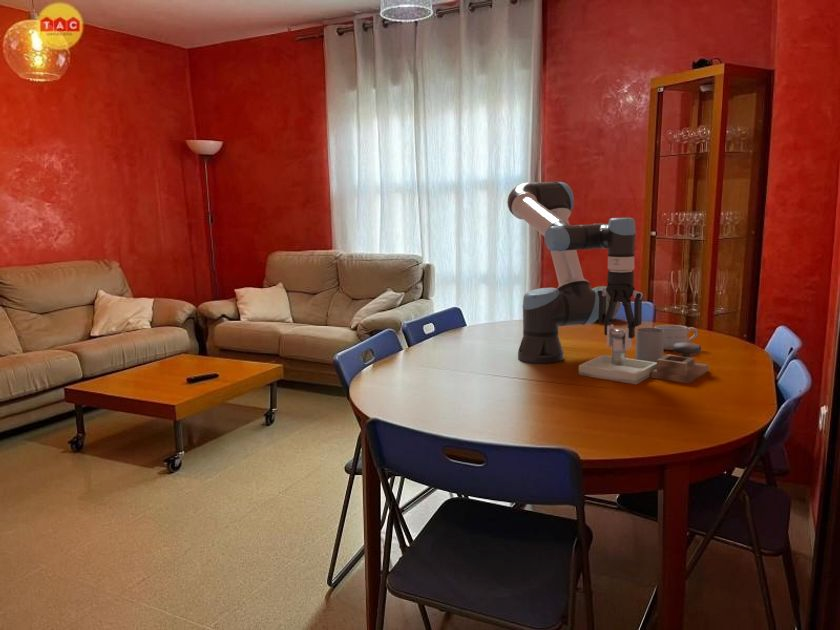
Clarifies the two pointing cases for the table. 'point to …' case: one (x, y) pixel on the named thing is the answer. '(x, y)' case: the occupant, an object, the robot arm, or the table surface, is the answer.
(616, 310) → the decorative sphere
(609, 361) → the tray
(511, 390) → the table surface
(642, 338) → the cup
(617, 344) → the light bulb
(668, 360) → the block
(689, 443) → the table surface
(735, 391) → the table surface
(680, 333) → the teacup
